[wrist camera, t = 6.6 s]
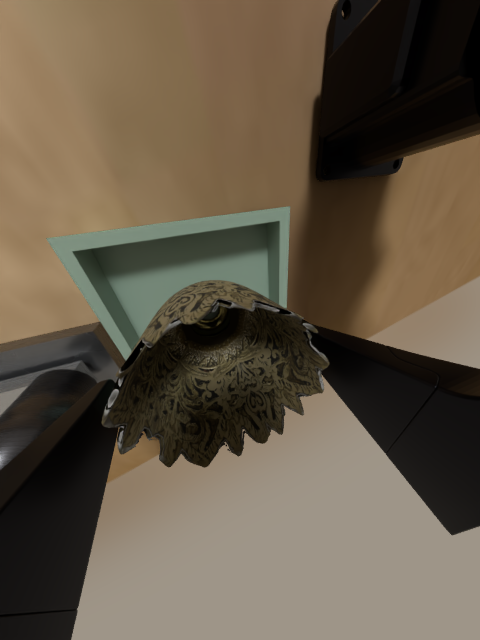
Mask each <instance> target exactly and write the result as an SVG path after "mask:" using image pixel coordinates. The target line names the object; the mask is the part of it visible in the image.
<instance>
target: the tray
mask: <svg viewBox="0 0 480 640" xmlns="http://www.w3.org/2000/svg"><path fill="white" fill-rule="evenodd" d="M289 222H290V206H289V207H281V208H274V209H266V210H259V211H251V212H243V213H236V214H228V215H221V216H213V217H205V218H198V219H190V220H183V221H175V222H167V223H160V224H152V225H145V226H137V227H129V228H122V229H114V230H107V231H99V232H91V233H84V234H76V235H68V236H61V237H53V238H46V239H47V241H48V242H49V244H50V245H51V247H52V248H53V250H54V251H55V253H56V254H57V256H58V257H59V259H60V261H61V262H62V264H63V265H64V267H65V268H66V270H67V271H68V273H69V274H70V276H71V277H72V279H73V280H74V282H75V284H76V285H77V287H78V288H79V290H80V291H81V293H82V294H83V296H84V297H85V299H86V300H87V302H88V304H89V305H90V307H91V308H92V310H93V311H94V313H95V314H96V316H97V317H98V319H99V320H100V322H101V323H102V325H103V327H104V328H105V330H106V331H107V333H108V334H109V336H110V337H111V339H112V340H113V342H114V343H115V345H116V346H117V348H118V350H119V351H120V353H121V354H122V356H123V357H124V359H125V360H127V358H128V357H129V355H130V354H131V352H132V350H133V349H134V347H135V346H136V344H137V342H138V341H139V339H140V337H141V336H142V334H143V333H144V331H145V329H146V328H147V326H148V325H149V323H150V321H151V320H152V318H153V317H154V316H155V314H156V313H157V312H158V310H159V309H160V308H161V306H162V305H163V304H164V303H165V302H166V301H167V300H168V299H169V298H170V297H171V296H173V295H174V294H175V293H177V292H178V291H180V290H181V289H183V288H185V287H187V286H189V285H191V284H194V283H197V282H201V281H208V280H223V281H230V282H234V283H237V284H240V285H243V286H245V287H247V288H250V289H252V290H254V291H256V292H258V293H259V294H261V295H263V296H265V297H267V298H268V299H270V300H272V301H274V302H275V303H277V304H279V305H281V306H282V307H284V308H286V309H287V281H288V252H289ZM218 312H219V307H218V308H217V309H216V311H214V312H212V313H209V314H208V315H207V316H205V317H204V318H203V319H204V320H210V319H213V318H214V317H216V316H217V314H218Z"/></svg>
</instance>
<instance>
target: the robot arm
mask: <svg viewBox="0 0 480 640" xmlns="http://www.w3.org/2000/svg"><path fill="white" fill-rule="evenodd" d="M342 10H343V13H344V19H343V17H342ZM479 134H480V0H337V2H336V3H335V5H334V7H333V9H332V13H331V19H330V29H329V40H328V51H327V61H326V68H325V78H324V89H323V100H322V111H321V122H320V136H319V147H318V158H317V169H316V177H317V180H318V181H320V182H326V181H335V180H345V179H354V178H364V177H373V176H383V175H390V174H394V173H396V172H397V171H398V170H399V169H400V167H401V164H402V161H403V158H404V157H406V156H409V155H413V154H416V153H419V152H423V151H426V150H429V149H433V148H436V147H439V146H442V145H446V144H449V143H452V142H456V141H459V140H462V139H466V138H469V137H472V136H476V135H479ZM324 168H326V174H324ZM311 325H312V326H314V327H315V328H316V329H317V331H318V333H314V332H312V331H310V330H309V329H307V330H308V331H309V332H310V334H311V335H312V338H311V339H310V340H311V343H312V344H313V345H314V346H315V347H316V348H317V349H318V350H319V351H320V352H322V353H323V354H324V355H325V356H326V358H327V359H328V361H329V366H328V367H327V368H325V369H324V370H321V372H322V375H323V377H324V378H325V379H326V380H327V382H328V383H329V384H330V385H331V386H332V388H333V389H334V390H335V392H336V393H337V394H338V395H339V397H340V398H341V399H342V400H343V402H344V403H345V404H346V405H347V407H348V408H349V409H350V410H351V411H352V413H353V414H354V415H355V416H356V418H357V419H358V420H359V421H360V423H361V424H362V425H363V426H364V428H365V429H366V430H367V431H368V433H369V434H370V435H371V436H372V438H373V439H374V440H375V441H376V442H377V444H378V445H379V446H380V448H381V449H382V450H383V451H384V452H385V453H386V455H387V456H388V458H389V459H390V460H391V461H392V462H393V464H394V465H395V466H396V468H397V469H398V470H399V471H400V473H401V474H402V475H403V476H404V477H405V479H406V480H407V481H408V483H409V484H410V485H411V486H412V488H413V489H414V490H415V491H416V492H417V494H418V495H419V496H420V497H421V499H422V500H423V501H424V502H425V504H426V505H427V506H428V507H429V509H430V510H431V511H432V512H433V514H434V515H435V516H436V517H437V519H438V520H439V521H440V522H441V524H442V525H443V526H444V527H445V528H446V530H447V531H448V532H449V533H450V534H451V535H455V534H458V533H461V532H464V531H467V530H470V529H473V528H476V527H479V526H480V369H477V368H473V367H469V366H464V365H461V364H456V363H452V362H448V361H444V360H439V359H435V358H431V357H427V356H423V355H419V354H415V353H411V352H408V351H404V350H400V349H396V348H393V347H390V346H385V345H383V344H379V343H375V342H372V341H369V340H365V339H362V338H358V337H355V336H351V335H348V334H344V333H341V332H337V331H334V330H330V329H327V328H323V327H320V326H316V325H313V324H311ZM114 385H115V382H114V380H112V379H107V380H103V381H100V382H99V383H97V384H96V385H95V386H94V387H93V388H92V389H91V390H89V391H88V392H87V393H86V394H85V395H84V396H83V397H82V398H81V399H79V400H78V401H77V402H76V403H75V404H74V405H73V406H72V407H70V408H69V409H68V410H67V411H66V412H65V413H64V414H63V415H62V416H60V417H59V418H58V419H57V420H56V421H55V422H54V423H53V424H51V425H50V426H49V427H48V428H47V429H46V430H45V431H44V432H42V433H41V434H40V435H39V436H38V437H37V438H36V439H35V440H34V441H32V442H31V443H30V444H29V445H28V446H27V447H26V448H25V449H23V450H22V451H21V452H20V453H19V454H18V455H17V456H16V457H14V458H13V459H12V460H11V461H10V462H9V463H8V464H7V465H6V466H4V467H3V468H2V469H1V470H0V640H71V637H72V633H73V629H74V624H75V620H76V616H77V608H78V606H79V601H80V597H81V593H82V588H83V584H84V579H85V575H86V570H87V566H88V562H89V557H90V553H91V549H92V544H93V540H94V535H95V531H96V527H97V522H98V517H99V513H100V509H101V504H102V500H103V495H104V491H105V487H106V482H107V478H108V474H109V469H110V465H111V460H112V456H113V452H114V447H115V443H116V438H117V434H118V428H119V427H109V428H108V427H104V426H103V425H102V417H103V414H104V410H105V407H106V404H107V401H108V399H109V396H110V394H111V392H112V390H113V387H114Z"/></svg>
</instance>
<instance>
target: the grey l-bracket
mask: <svg viewBox="0 0 480 640" xmlns="http://www.w3.org/2000/svg"><path fill="white" fill-rule="evenodd" d="M81 360H82V361H83V363H84V364H85V365H86V366H87V367H88V369H89V370H90V371H91V372H92V373H93V374H94V376H95V377H96V378H97V381H96V382H97V383H99V382H100V381H103V380H107V379H112V380H114V382H115V383H116V381H117V379H118V377H115V375H116V373H117V372H118V370H119V369H120V368H121V366H122V365H123V364H124V363H125V361H126V360H125V359H124V357H123V356H122V354H121V353H120V351H119V350H118V348H117V346H116V345H115V343H114V342H113V340H112V339H111V337H110V336H109V334H108V333H107V331H106V330H105V328H104V327H103V325H102V323H101V322H97V323H93V324H88V325H84V326H79V327H75V328H70V329H66V330H61V331H57V332H53V333H48V334H44V335H39V336H35V337H30V338H26V339H21V340H17V341H12V342H8V343H3V344H0V381H3V380H7V379H11V378H15V377H18V376H22V375H26V374H30V373H34V372H38V371H42V370H46V369H50V368H53V367H57V366H61V365H65V364H69V363H73V362H77V361H81ZM120 372H121V371H120Z"/></svg>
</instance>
